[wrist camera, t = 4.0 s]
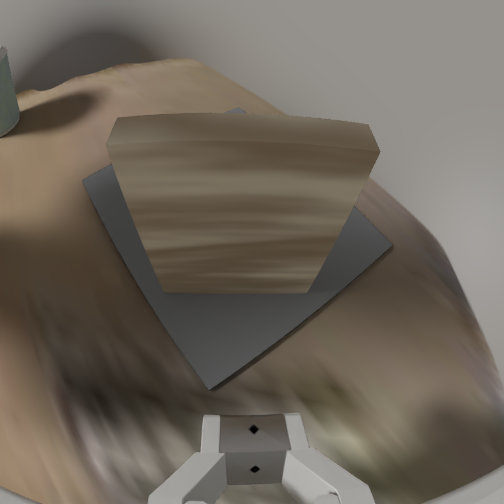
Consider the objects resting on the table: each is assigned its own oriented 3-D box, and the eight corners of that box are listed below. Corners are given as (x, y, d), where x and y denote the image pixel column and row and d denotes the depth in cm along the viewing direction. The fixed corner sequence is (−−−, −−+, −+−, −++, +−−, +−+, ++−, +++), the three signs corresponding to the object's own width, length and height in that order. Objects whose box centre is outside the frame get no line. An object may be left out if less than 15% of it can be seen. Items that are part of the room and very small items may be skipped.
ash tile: (306, 293, 27) (380, 151, 13) (164, 292, 26) (105, 145, 12) (304, 268, 28) (366, 120, 14) (166, 268, 27) (119, 114, 13)
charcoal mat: (209, 390, 23) (208, 390, 22) (83, 183, 32) (81, 180, 32) (390, 247, 30) (392, 244, 30) (238, 110, 40) (238, 107, 39)
